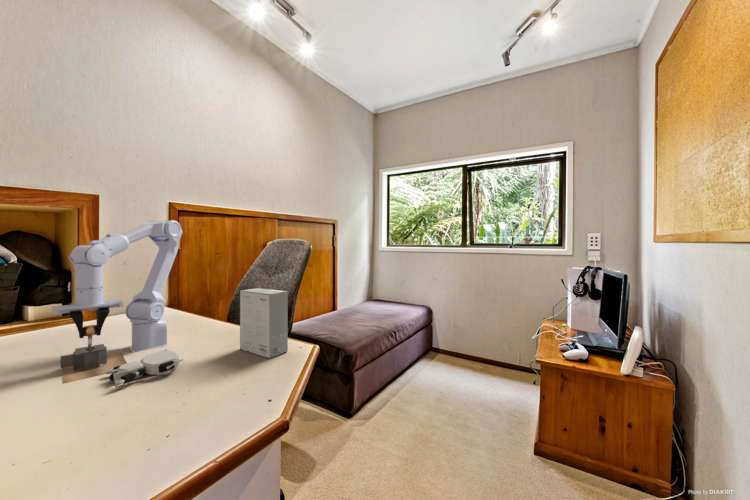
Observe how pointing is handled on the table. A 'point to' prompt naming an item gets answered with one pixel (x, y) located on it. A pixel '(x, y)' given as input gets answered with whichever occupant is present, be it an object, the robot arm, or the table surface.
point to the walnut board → (112, 362)
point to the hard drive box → (264, 321)
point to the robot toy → (145, 367)
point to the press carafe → (86, 358)
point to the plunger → (90, 333)
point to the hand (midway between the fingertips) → (90, 336)
